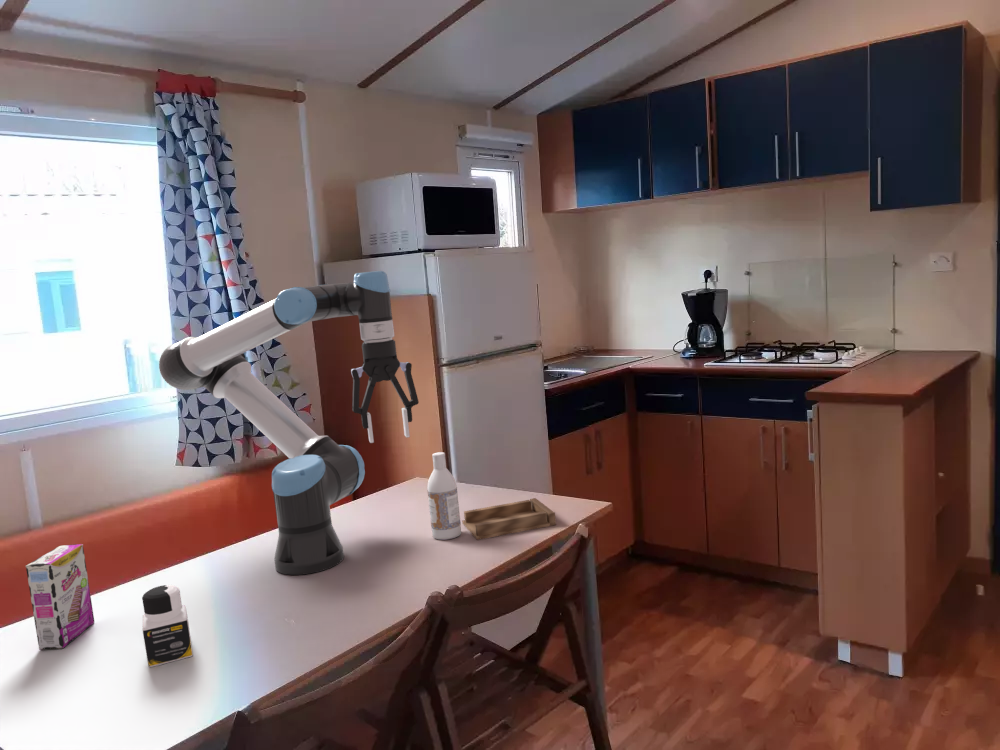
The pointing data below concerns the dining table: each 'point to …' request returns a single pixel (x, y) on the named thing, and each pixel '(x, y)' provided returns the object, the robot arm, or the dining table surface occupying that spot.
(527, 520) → the wooden tray
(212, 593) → the dining table surface
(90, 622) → the candy bar box
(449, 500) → the bath foam
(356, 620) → the dining table surface
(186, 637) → the medicine bottle
